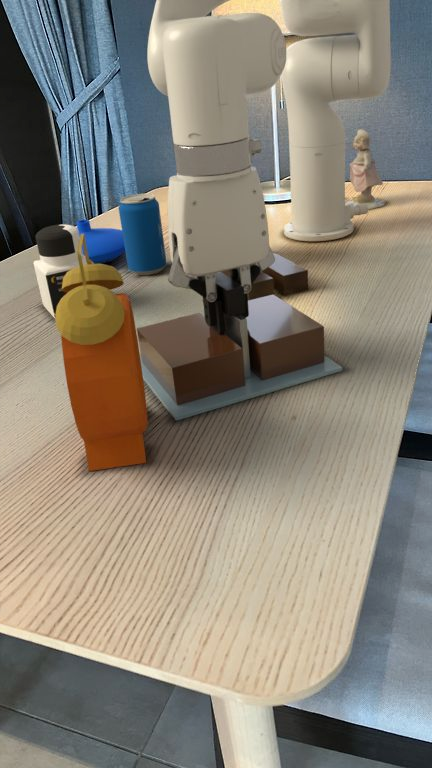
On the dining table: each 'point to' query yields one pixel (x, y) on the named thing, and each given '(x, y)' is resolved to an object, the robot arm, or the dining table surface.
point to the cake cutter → (234, 315)
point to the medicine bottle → (56, 261)
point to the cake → (231, 358)
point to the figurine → (364, 173)
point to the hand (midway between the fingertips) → (227, 326)
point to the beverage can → (142, 234)
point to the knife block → (278, 279)
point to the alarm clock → (102, 365)
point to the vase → (101, 242)
